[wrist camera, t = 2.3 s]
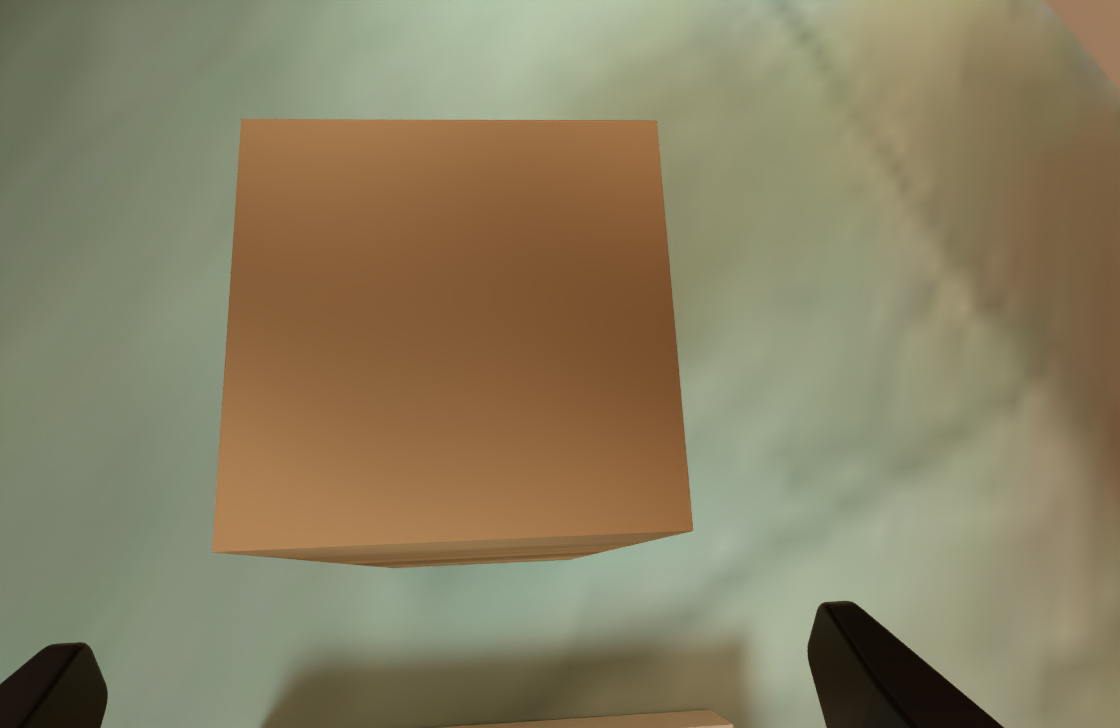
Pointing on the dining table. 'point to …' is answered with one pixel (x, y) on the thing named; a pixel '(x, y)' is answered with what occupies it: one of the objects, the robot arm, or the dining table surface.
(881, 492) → the dining table surface
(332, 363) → the oak brick
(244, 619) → the dining table surface
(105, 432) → the dining table surface
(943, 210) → the dining table surface
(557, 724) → the base plate
